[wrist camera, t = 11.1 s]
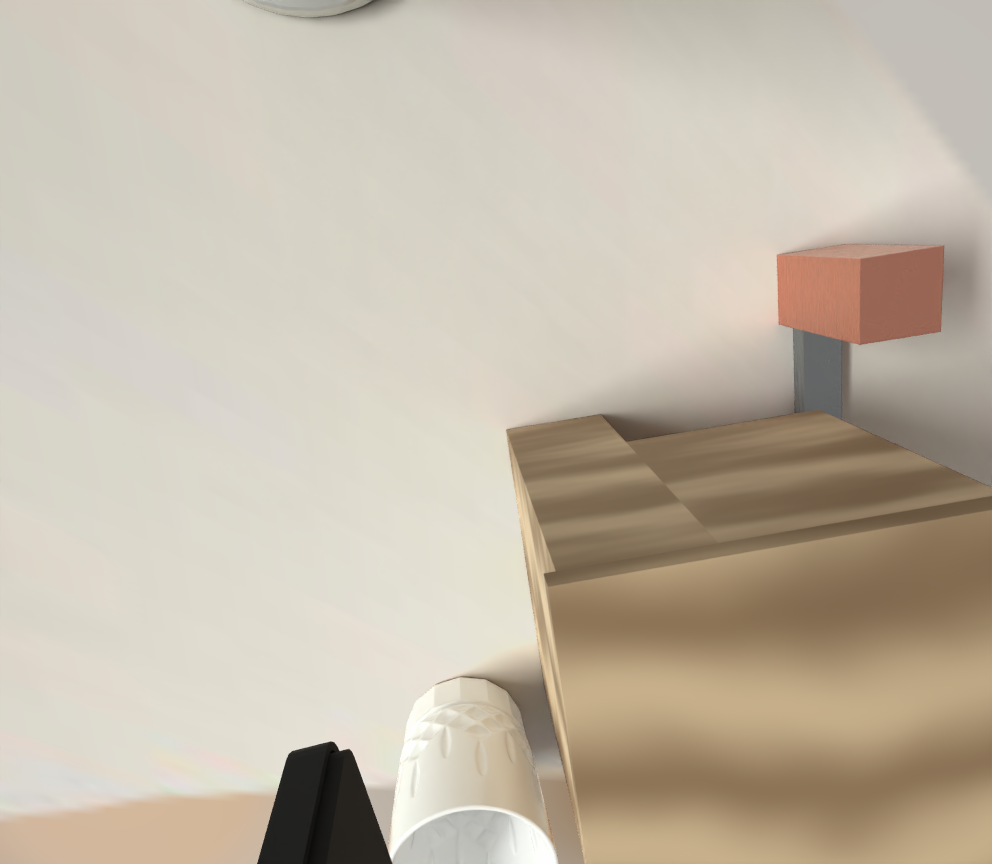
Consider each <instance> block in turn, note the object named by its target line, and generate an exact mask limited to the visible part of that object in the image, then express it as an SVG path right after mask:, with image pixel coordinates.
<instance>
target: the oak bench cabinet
mask: <svg viewBox="0 0 992 864" xmlns="http://www.w3.org/2000/svg"><path fill="white" fill-rule="evenodd" d="M506 432H507V439H508V446H509V453H510V459H511V466H512V473H513V479H514V486H515V493H516V500H517V506H518V513H519V520H520V526H521V533H522V540H523V547H524V553H525V560H526V567H527V574H528V580H529V587H530V594H531V600H532V607H533V614H534V621H535V627H536V634H537V641H538V647H539V654H540V661H541V668H542V674H543V681H544V688H545V692H546V697H547V701H548V705H549V709H550V714H551V718H552V722H553V727H554V731H555V735H556V739H557V744H558V748H559V752H560V756H561V761H562V765H563V769H564V773H565V778H566V782H567V786H568V790H569V794H570V799H571V803H572V807H573V812H574V816H575V820H576V825H577V829H578V833H579V837H580V842H581V846H582V850H583V856H584V864H992V488H991V487H989V486H987V485H985V484H982V483H980V482H978V481H976V480H974V479H971V478H969V477H967V476H965V475H962V474H960V473H958V472H956V471H954V470H951V469H949V468H947V467H945V466H943V465H940V464H938V463H936V462H934V461H931V460H929V459H927V458H925V457H923V456H920V455H918V454H916V453H914V452H911V451H909V450H907V449H905V448H903V447H900V446H898V445H896V444H894V443H891V442H889V441H887V440H885V439H883V438H880V437H878V436H876V435H874V434H872V433H869V432H867V431H865V430H863V429H860V428H858V427H856V426H854V425H852V424H849V423H847V422H845V421H843V420H840V419H838V418H836V417H834V416H832V415H829V414H827V413H825V412H823V411H820V410H814V411H808V412H802V413H796V414H790V415H784V416H778V417H772V418H766V419H760V420H754V421H748V422H742V423H736V424H730V425H724V426H718V427H712V428H706V429H700V430H694V431H688V432H682V433H676V434H670V435H664V436H658V437H652V438H646V439H640V440H634V441H628V442H625V440H624V439H623V438H622V437H621V436H620V435H619V434H618V433H617V432H616V431H615V430H614V429H613V427H612V426H611V425H610V424H609V423H608V422H607V421H606V420H605V419H604V418H603V417H602V415H601V414H600V415H593V416H587V417H581V418H575V419H569V420H563V421H557V422H551V423H545V424H539V425H533V426H527V427H520V428H514V429H508V430H506Z"/></svg>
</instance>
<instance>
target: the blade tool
mask: <svg viewBox="0 0 992 864" xmlns="http://www.w3.org/2000/svg"><path fill="white" fill-rule="evenodd" d="M943 264H944V246H934V245H863V244H843V245H837V246H830V247H824V248H818V249H811V250H805V251H798V252H792V253H786V254H779V255H777V272H778V309H779V325H783V326H787V327H791V328H793V342H794V389H795V414H796V413H802V412H808V411H814V410H820V411H823V412H825V413H827V414H829V415H832V416H834V417H836V418H838V419H840V420H842V340H843V341H847V342H851V343H855V344H859V345H861V344H868V343H874V342H880V341H886V340H892V339H898V338H905V337H911V336H917V335H923V334H929V333H935V332H941V313H942V288H943Z"/></svg>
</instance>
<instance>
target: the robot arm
mask: <svg viewBox="0 0 992 864" xmlns="http://www.w3.org/2000/svg"><path fill="white" fill-rule="evenodd" d="M243 1H245V2H246V3H248V4H250V5H253V6H256V7H259V8H262V9H265V10H268V11H271V12H274V13H277V14H282V15H290V16H298V17H306V18H308V17H319V16H331V15H337V14H340V13H343V12H346V11H350V10H353V9H356V8H359V7H362V6H364V5H365V4H367V3H369V2H371V1H372V0H243ZM257 864H393V863H392V861H391V858H390V855H389V852H388V849H387V847H386V844H385V841H384V839H383V835H382V833H381V830H380V827H379V824H378V822H377V819H376V816H375V813H374V811H373V808H372V805H371V802H370V799H369V796H368V794H367V791H366V788H365V785H364V783H363V780H362V777H361V774H360V771H359V769H358V766H357V763H356V760H355V757H354V755H353V753H352V751H351V750H350V749H347V750H343V751H339V749H338V747H337V745H336V744H335V743H334V742H327V743H323V744H319V745H315V746H311V747H307V748H303V749H299V750H295V751H292V752H291V753H289V755H288V757H287V760H286V763H285V766H284V770H283V774H282V777H281V781H280V784H279V788H278V791H277V795H276V799H275V802H274V806H273V809H272V813H271V816H270V820H269V824H268V828H267V831H266V834H265V838H264V842H263V845H262V849H261V852H260V856H259V859H258V863H257Z"/></svg>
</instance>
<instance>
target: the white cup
mask: <svg viewBox="0 0 992 864" xmlns="http://www.w3.org/2000/svg"><path fill="white" fill-rule="evenodd" d="M388 852H389V855H390V858H391V861H392V863H393V864H559V861H558V855H557V851H556V847H555V844H554V839H553V835H552V831H551V827H550V823H549V819H548V815H547V811H546V806H545V802H544V798H543V794H542V790H541V785H540V781H539V777H538V773H537V770H536V768H535V764H534V759H533V755H532V752H531V748H530V746H529V743H528V740H527V738H526V735H525V731H524V726H523V722H522V717H521V713H520V710H519V708H518V707H517V705H516V704H515V702H514V701H513V699H512V698H511V696H510V695H509V694H508V692H507V691H506V690H504V689H502V688H500V687H499V686H497V685H495V684H493V683H491V682H489V681H488V680H485V679H475V678H464V677H459V678H455V679H452V680H449V681H446V682H443V683H439V684H436V685H434V686H433V687H432V688H431V689H430V690H428V691H427V692H426V693H425V694H424V695H423V696H421V697H420V698H419V699H418V700H417V701H416V702H415V705H414V707H413V709H412V712H411V714H410V716H409V719H408V721H407V725H406V733H405V741H404V747H403V751H402V755H401V760H400V765H399V774H398V779H397V784H396V790H395V797H394V805H393V812H392V820H391V828H390V836H389V843H388Z"/></svg>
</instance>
